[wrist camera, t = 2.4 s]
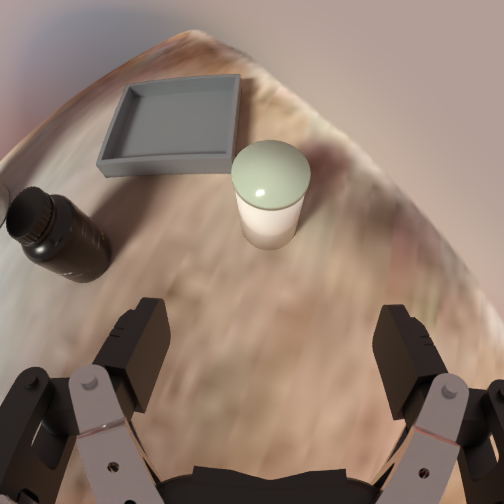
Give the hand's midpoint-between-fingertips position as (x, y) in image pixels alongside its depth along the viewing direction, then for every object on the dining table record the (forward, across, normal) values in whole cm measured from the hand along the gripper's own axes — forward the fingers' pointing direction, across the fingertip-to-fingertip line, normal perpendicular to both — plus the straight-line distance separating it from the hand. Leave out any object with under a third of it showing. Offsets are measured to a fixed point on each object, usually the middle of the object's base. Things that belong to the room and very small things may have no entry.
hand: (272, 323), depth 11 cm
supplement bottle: (+18, +20, +7) cm, 28 cm away
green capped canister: (+21, 0, +4) cm, 21 cm away
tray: (+30, +12, -5) cm, 33 cm away
